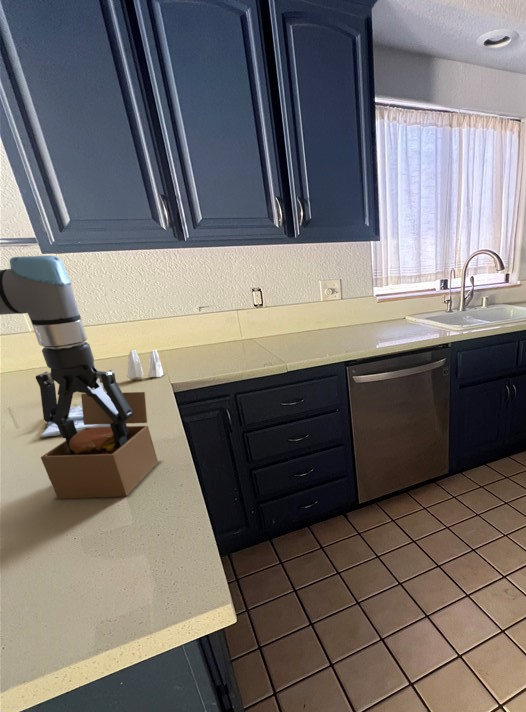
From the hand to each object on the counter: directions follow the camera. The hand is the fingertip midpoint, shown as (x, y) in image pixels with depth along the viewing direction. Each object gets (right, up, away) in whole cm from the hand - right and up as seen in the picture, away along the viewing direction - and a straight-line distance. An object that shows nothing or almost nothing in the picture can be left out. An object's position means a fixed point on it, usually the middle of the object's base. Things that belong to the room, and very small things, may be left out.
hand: (100, 450), depth 90 cm
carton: (0, -6, +3) cm, 7 cm away
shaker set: (-29, +24, +70) cm, 79 cm away
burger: (0, 0, 0) cm, 1 cm away
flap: (0, +9, +5) cm, 10 cm away
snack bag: (-26, +7, +34) cm, 43 cm away
